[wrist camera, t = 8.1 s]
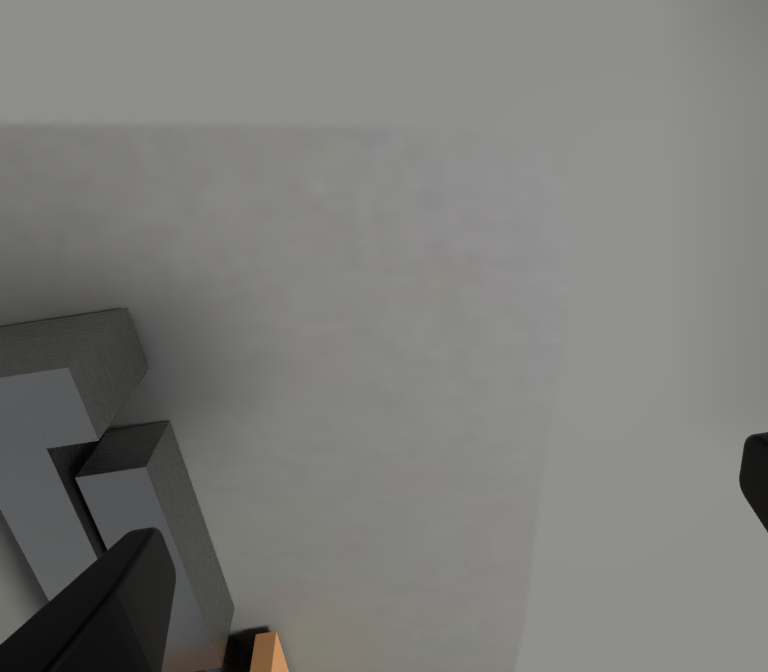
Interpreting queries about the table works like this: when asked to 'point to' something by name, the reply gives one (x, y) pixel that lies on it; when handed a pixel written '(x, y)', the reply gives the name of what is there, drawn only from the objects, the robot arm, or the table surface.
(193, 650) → the tongs fixed
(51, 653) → the robot arm
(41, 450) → the arm
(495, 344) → the table surface
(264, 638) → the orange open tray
